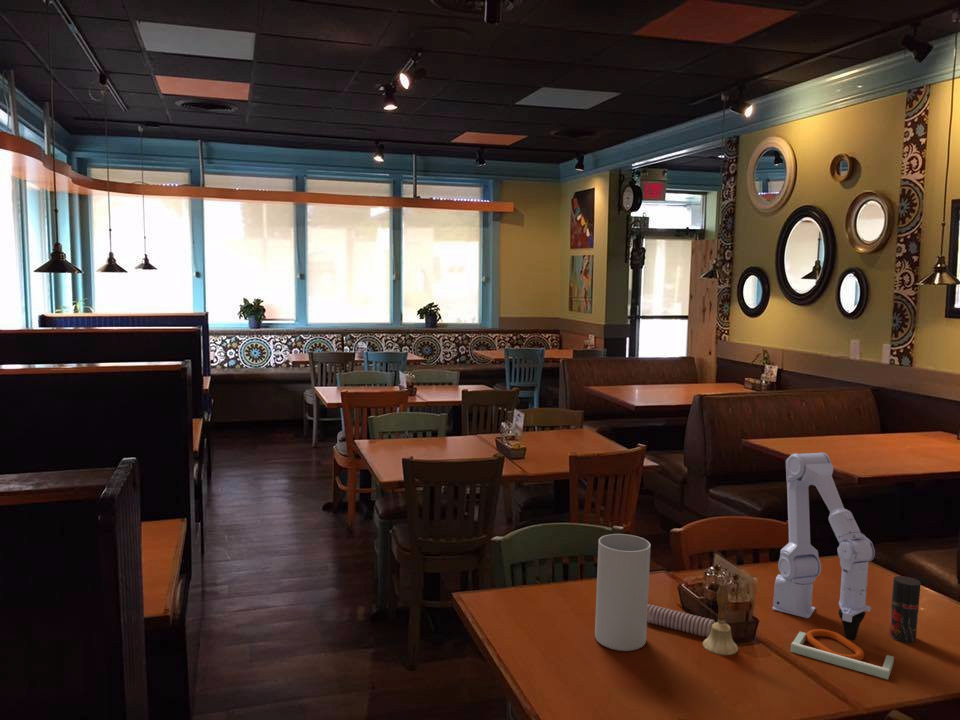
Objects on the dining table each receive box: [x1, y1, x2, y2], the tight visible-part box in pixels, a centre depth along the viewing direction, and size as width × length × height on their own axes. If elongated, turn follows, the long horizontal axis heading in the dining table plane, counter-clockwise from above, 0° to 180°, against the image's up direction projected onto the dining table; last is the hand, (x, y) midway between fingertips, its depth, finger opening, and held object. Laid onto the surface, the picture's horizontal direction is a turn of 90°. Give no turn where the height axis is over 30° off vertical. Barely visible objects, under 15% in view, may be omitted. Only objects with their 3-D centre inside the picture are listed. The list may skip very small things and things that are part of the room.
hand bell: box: [702, 583, 739, 656], centre depth 184 cm, size 8×8×16 cm
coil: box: [647, 603, 716, 638], centre depth 194 cm, size 5×5×18 cm
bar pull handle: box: [790, 631, 895, 680], centre depth 180 cm, size 21×9×2 cm, turn 54°
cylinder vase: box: [594, 533, 652, 652], centre depth 186 cm, size 12×12×25 cm
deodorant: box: [888, 575, 922, 644], centre depth 191 cm, size 6×6×15 cm
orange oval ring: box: [805, 628, 865, 661], centre depth 185 cm, size 10×2×15 cm
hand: (850, 639), depth 187 cm, fingers closed, pressing on orange oval ring
